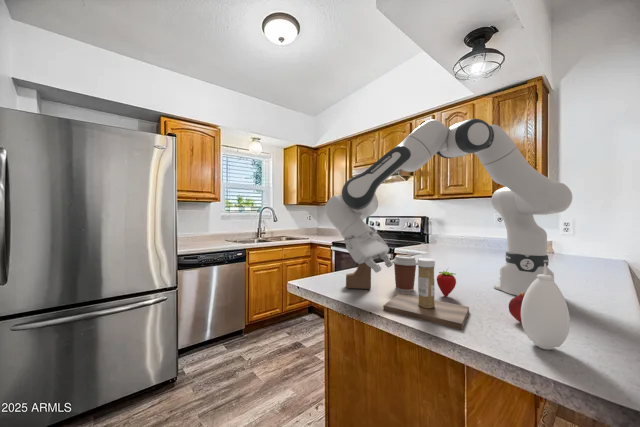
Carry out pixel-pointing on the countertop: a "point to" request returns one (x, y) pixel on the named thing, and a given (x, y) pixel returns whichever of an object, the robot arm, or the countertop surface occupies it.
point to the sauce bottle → (545, 313)
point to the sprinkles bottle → (426, 282)
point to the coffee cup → (404, 272)
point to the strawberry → (446, 282)
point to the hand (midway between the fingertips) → (385, 268)
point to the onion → (516, 306)
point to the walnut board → (428, 311)
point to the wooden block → (359, 277)
